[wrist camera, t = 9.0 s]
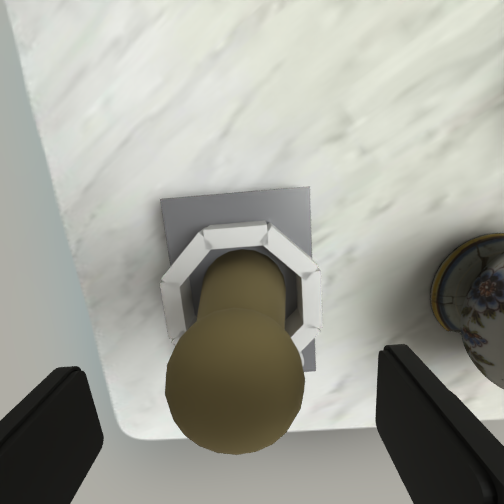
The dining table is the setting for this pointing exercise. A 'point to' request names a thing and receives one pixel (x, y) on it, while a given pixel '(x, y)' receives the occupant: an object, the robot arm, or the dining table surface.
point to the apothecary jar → (475, 301)
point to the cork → (237, 360)
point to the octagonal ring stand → (250, 238)
